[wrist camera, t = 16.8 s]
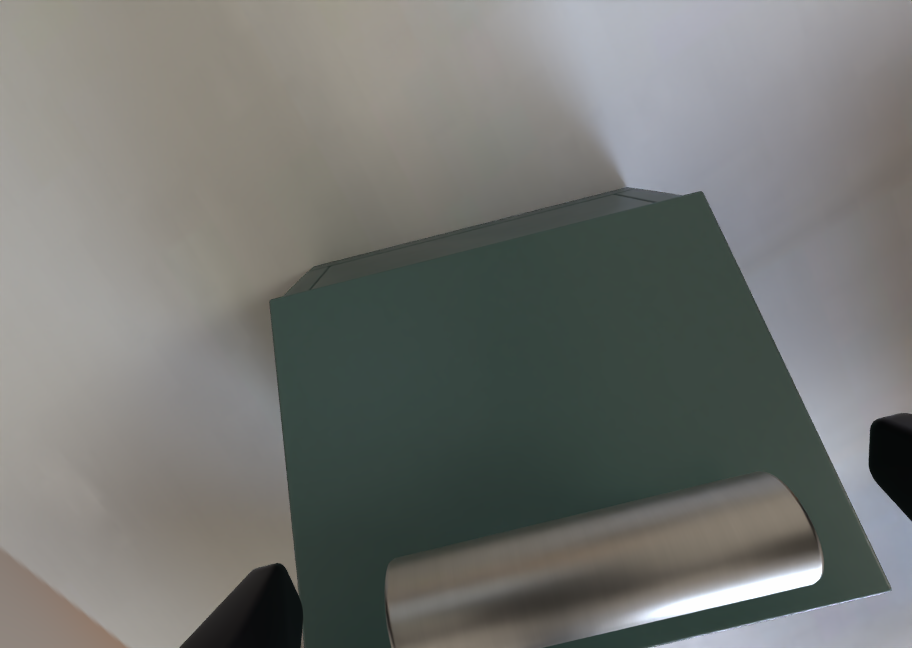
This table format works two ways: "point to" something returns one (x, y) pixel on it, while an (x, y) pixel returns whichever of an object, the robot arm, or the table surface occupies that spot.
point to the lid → (556, 448)
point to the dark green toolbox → (477, 236)
